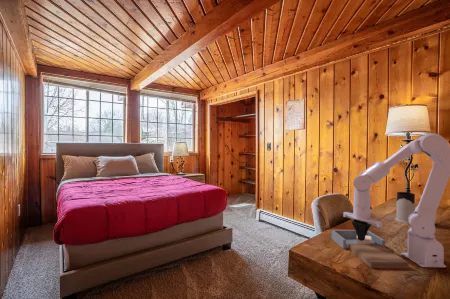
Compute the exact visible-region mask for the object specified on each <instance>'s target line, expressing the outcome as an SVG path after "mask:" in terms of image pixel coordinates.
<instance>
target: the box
mask: <svg viewBox="0 0 450 299" xmlns="http://www.w3.org/2000/svg"><path fill="white" fill-rule="evenodd" d="M366 236H371V240H372V241H371V244H380V245H382V246H383V247H385V248H386V246H385V245H386V240H385V239H383V238H382V237H380V236H378V235H376V234H375V233H373V232H372V231H370V230H368V231H367V233H366ZM330 239H331V240H332V241H333V242H335V243H336V244H337V245H339V247H341V249H343V250H347V249H348V244H357V233H356V230H355V229H330ZM348 250H349V249H348Z"/></svg>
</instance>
